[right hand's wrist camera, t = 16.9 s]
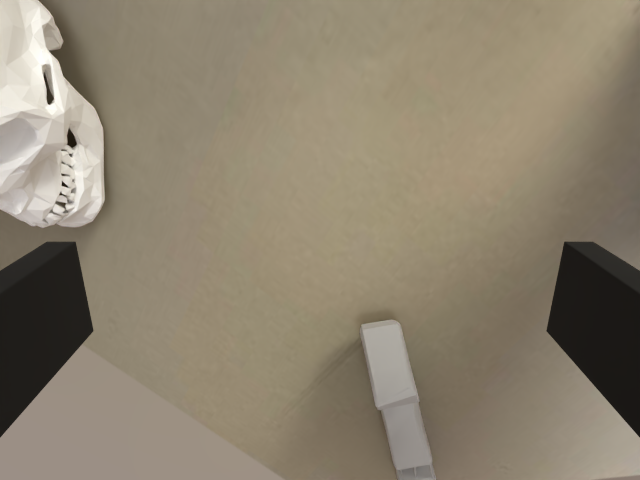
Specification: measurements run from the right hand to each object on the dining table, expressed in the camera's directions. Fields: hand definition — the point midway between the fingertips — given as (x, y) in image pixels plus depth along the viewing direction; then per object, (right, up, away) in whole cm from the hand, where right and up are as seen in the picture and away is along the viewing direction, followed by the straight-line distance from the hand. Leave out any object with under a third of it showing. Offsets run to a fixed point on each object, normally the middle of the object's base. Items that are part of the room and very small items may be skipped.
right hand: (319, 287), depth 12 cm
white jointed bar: (+8, -14, +32) cm, 36 cm away
